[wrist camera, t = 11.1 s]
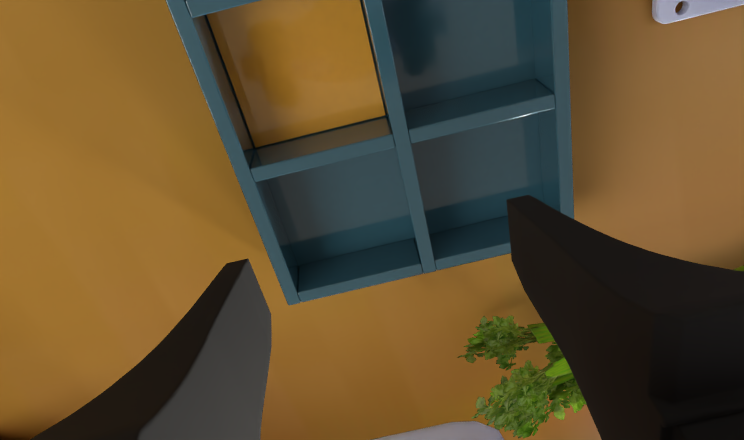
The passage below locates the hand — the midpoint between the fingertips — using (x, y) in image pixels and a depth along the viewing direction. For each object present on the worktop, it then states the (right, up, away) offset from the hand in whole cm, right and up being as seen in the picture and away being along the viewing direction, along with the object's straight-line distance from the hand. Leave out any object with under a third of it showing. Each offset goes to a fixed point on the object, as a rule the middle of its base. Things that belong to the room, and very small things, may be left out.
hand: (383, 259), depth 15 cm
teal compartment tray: (0, +8, +7) cm, 11 cm away
